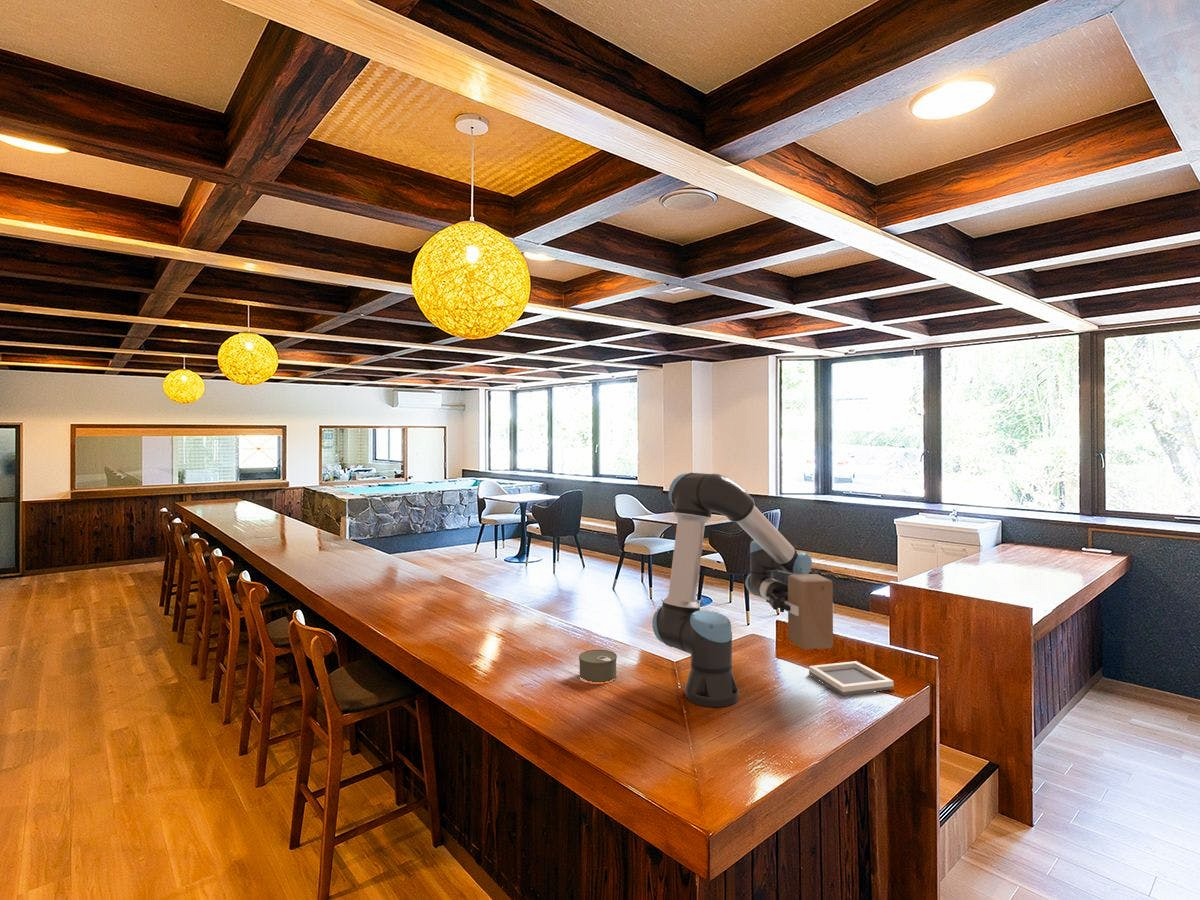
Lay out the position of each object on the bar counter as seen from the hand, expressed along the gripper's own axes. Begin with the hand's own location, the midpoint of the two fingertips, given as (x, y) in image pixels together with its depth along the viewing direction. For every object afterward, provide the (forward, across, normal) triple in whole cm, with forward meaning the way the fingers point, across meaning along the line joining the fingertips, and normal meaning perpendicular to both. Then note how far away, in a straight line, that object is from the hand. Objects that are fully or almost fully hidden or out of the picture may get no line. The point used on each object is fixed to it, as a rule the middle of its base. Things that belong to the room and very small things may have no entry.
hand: (815, 609), depth 174 cm
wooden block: (-3, 0, -11) cm, 12 cm away
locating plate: (-4, -14, -24) cm, 28 cm away
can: (-28, +59, -24) cm, 70 cm away
